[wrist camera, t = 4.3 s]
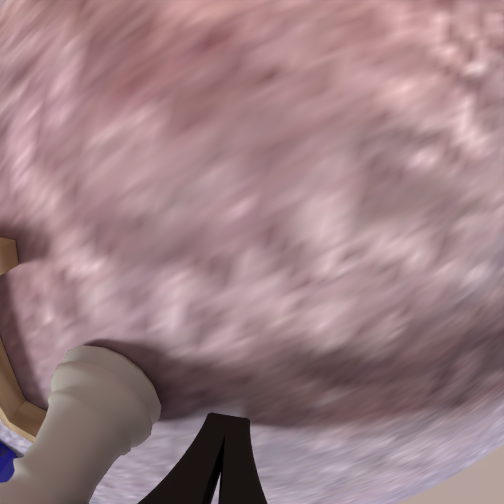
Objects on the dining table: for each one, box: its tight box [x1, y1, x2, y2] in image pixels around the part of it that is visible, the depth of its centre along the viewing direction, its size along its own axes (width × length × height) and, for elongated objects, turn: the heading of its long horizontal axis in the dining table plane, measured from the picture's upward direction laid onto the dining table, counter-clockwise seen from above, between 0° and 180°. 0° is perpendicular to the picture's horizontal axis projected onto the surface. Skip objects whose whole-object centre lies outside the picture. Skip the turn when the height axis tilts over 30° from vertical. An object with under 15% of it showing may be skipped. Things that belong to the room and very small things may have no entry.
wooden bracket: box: [0, 237, 47, 443], centre depth 10 cm, size 4×11×2 cm, turn 173°
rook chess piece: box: [0, 346, 161, 504], centre depth 7 cm, size 4×4×8 cm
